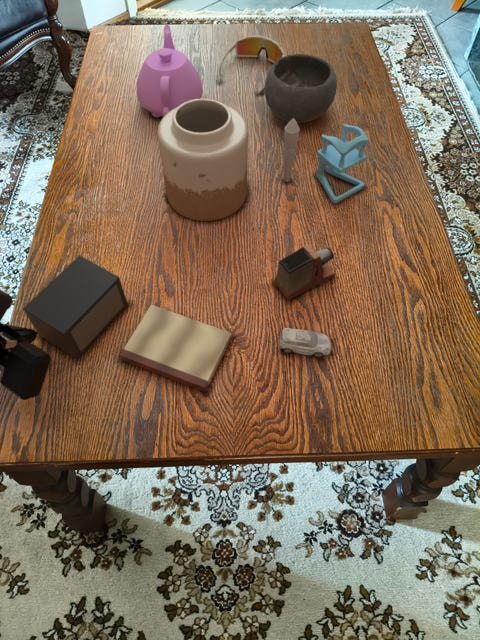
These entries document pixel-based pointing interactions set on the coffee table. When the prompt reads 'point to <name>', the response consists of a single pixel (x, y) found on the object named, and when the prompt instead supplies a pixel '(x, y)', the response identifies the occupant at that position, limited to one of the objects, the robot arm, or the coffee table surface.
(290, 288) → the electronic device
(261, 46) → the sunglasses
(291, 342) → the toy car
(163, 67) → the teapot
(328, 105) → the bowl
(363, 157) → the blue-grey angular frame piece
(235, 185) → the vase
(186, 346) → the notebook
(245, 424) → the coffee table surface
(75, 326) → the block
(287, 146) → the grey pointed post
